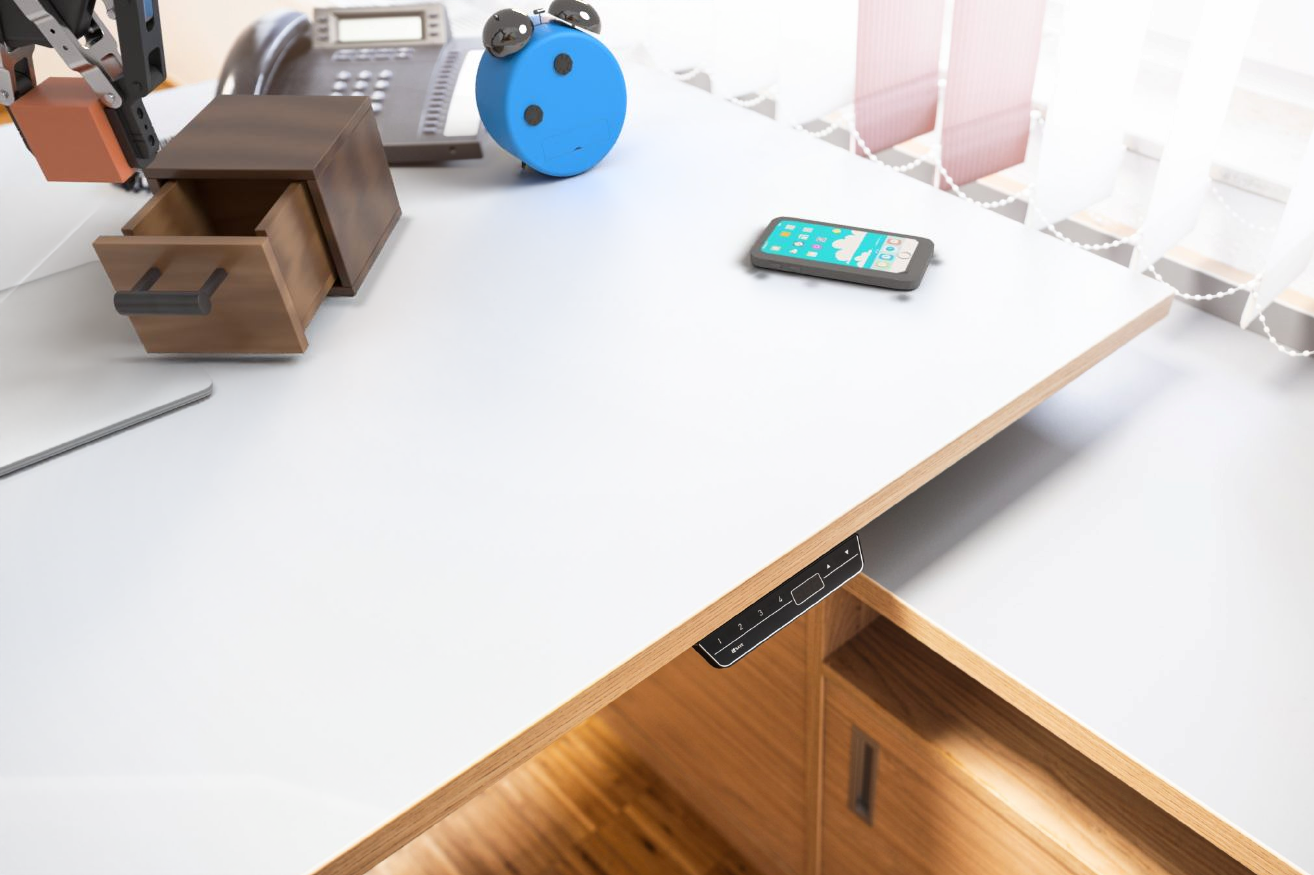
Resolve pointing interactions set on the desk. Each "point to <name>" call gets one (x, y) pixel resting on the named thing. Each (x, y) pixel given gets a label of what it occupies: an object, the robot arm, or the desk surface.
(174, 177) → the cabinet
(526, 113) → the alarm clock
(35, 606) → the desk surface
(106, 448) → the desk surface
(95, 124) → the block
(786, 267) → the smartphone
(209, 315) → the drawer
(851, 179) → the desk surface
